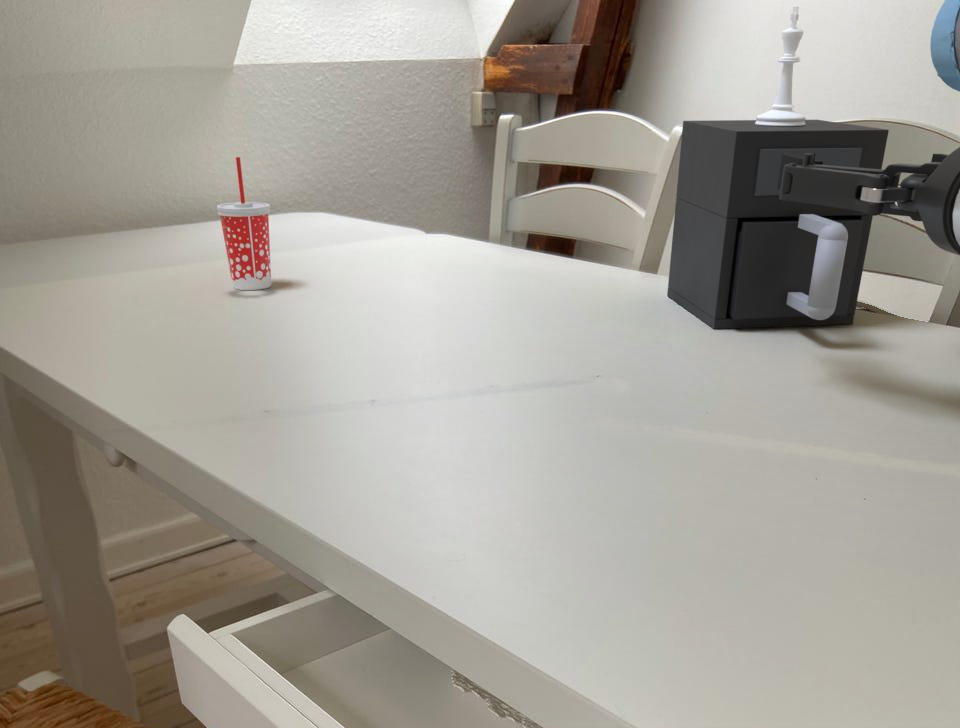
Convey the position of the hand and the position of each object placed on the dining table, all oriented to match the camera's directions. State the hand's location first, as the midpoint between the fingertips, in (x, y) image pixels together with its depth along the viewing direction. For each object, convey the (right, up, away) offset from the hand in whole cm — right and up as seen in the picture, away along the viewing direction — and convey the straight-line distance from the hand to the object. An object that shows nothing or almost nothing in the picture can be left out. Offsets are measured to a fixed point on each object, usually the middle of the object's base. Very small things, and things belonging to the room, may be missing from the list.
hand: (858, 171), depth 86 cm
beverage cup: (-60, +2, +34) cm, 69 cm away
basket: (-2, -6, +18) cm, 19 cm away
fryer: (-3, -4, +23) cm, 24 cm away
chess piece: (-3, +11, +14) cm, 18 cm away
